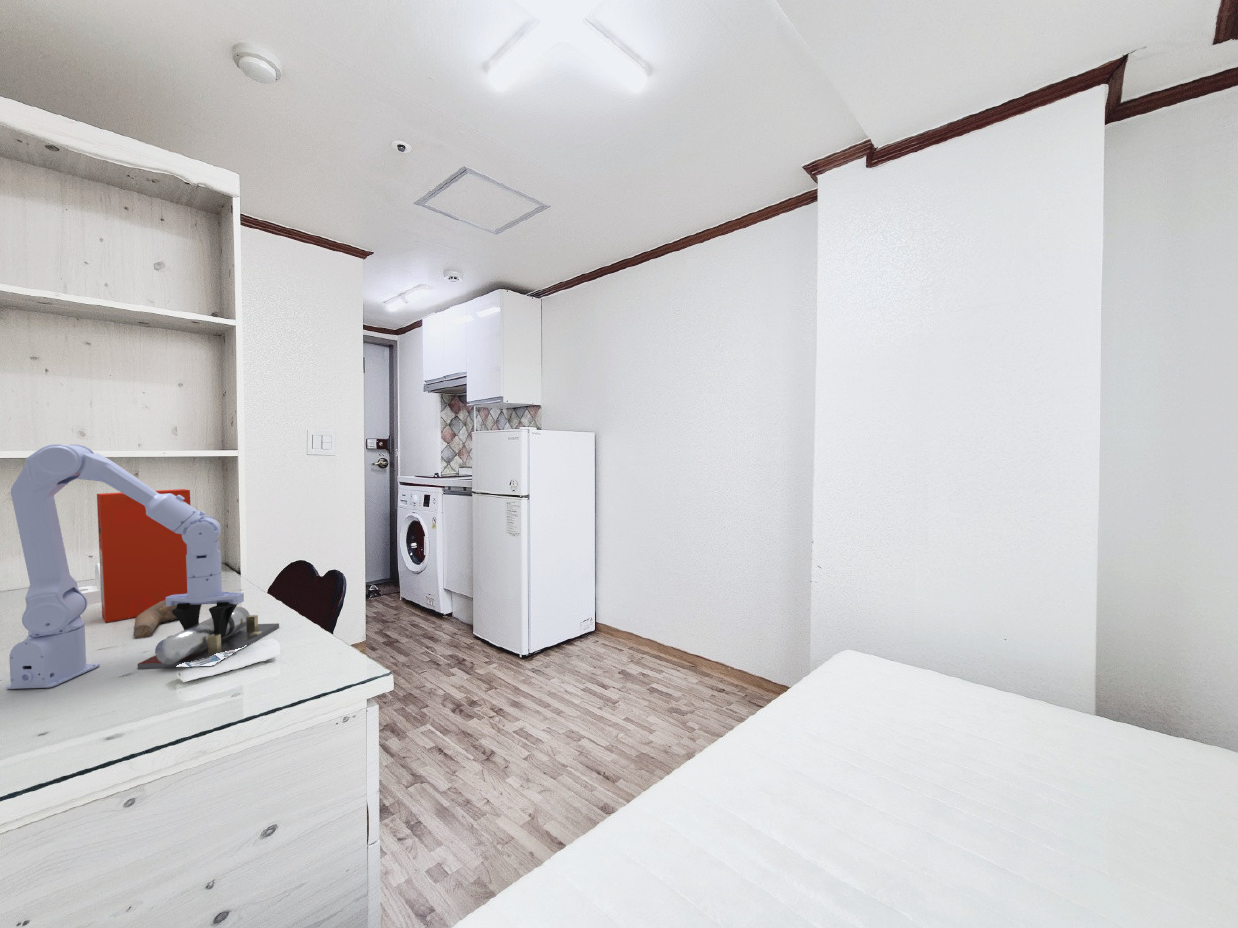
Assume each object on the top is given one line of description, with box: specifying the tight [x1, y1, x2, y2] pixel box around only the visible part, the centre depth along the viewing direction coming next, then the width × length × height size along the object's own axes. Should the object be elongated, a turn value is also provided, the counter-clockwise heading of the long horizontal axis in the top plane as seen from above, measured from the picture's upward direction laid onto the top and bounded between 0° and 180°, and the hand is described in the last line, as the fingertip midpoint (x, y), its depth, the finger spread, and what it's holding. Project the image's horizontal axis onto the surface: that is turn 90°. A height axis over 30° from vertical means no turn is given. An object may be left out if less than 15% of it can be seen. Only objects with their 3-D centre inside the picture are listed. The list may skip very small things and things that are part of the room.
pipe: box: [133, 600, 178, 639], centre depth 125 cm, size 6×17×10 cm
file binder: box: [96, 488, 191, 624], centre depth 136 cm, size 8×17×32 cm, turn 140°
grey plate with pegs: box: [137, 614, 280, 670], centre depth 112 cm, size 22×14×4 cm, turn 3°
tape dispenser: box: [78, 562, 102, 605], centre depth 150 cm, size 10×18×11 cm, turn 141°
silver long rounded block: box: [154, 606, 251, 664], centre depth 110 cm, size 20×5×6 cm, turn 3°
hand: (206, 637), depth 110 cm, fingers closed on silver long rounded block, 5 cm apart
